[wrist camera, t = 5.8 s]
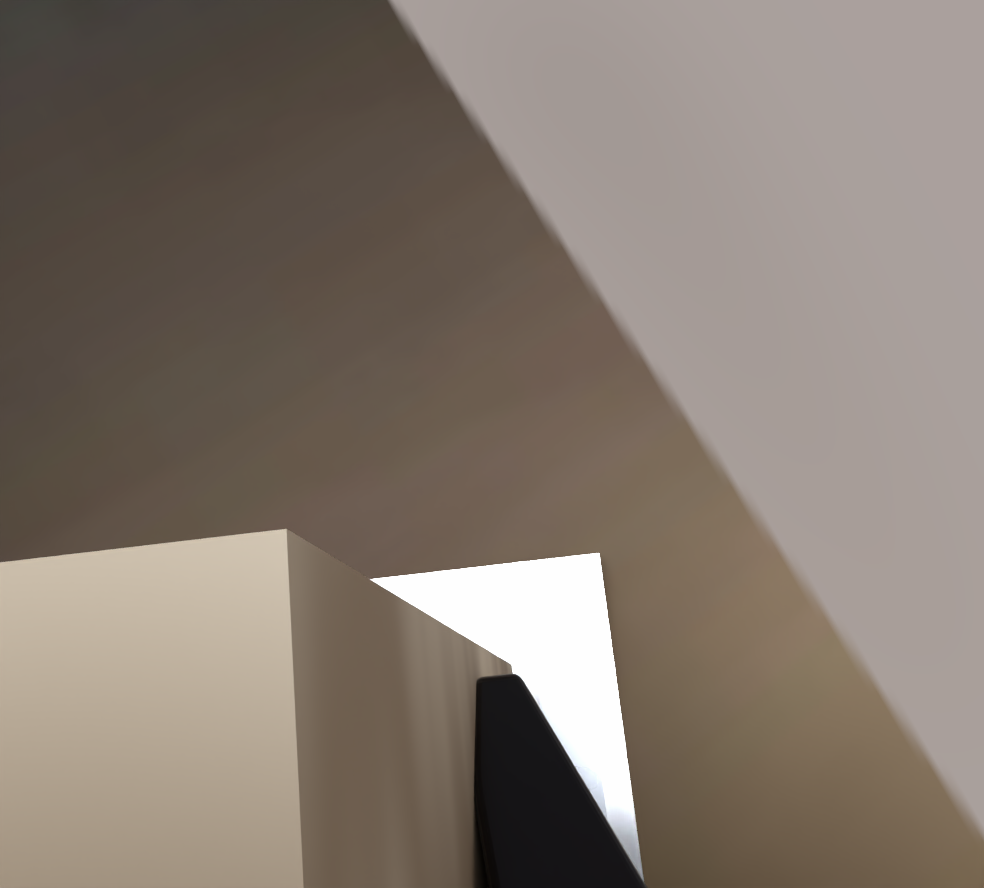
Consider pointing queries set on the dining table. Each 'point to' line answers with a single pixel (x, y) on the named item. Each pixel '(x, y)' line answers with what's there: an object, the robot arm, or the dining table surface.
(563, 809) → the robot arm
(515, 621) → the rack
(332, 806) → the beige rectangular block
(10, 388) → the dining table surface
